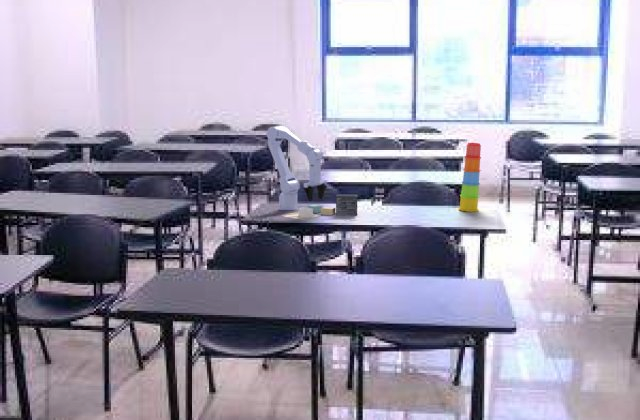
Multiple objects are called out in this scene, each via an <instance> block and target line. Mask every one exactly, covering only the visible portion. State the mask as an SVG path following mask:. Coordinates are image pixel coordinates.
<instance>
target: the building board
mask: <svg viewBox="0 0 640 420" xmlns="http://www.w3.org/2000/svg"><path fill="white" fill-rule="evenodd" d="M280 216H281V217H285V218H289V219H290V218H291V219H295V220H301V221H305V220H311V219H314V218H319V217H323V214H317V213H313V217H309V218H305V217H300V216H299V215H298V211H295V212H291V213H285V214H282V215H281V214H280Z"/></svg>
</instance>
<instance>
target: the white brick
mask: <svg viewBox="0 0 640 420" xmlns="http://www.w3.org/2000/svg"><path fill="white" fill-rule="evenodd" d="M297 210H298V211H297V212H298V215H299V216H300V217H305V218H309V217H313V214H314V212H313V209H312V208H308V207H306V206H305V207H304V206H303V207H299V208H298V207H297Z"/></svg>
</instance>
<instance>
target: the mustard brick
mask: <svg viewBox="0 0 640 420" xmlns="http://www.w3.org/2000/svg"><path fill="white" fill-rule="evenodd" d="M320 215H322V216H323V215H325V216H333V215H336V207H331V206H324V207H323V206H322V208H321V212H320Z"/></svg>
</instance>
